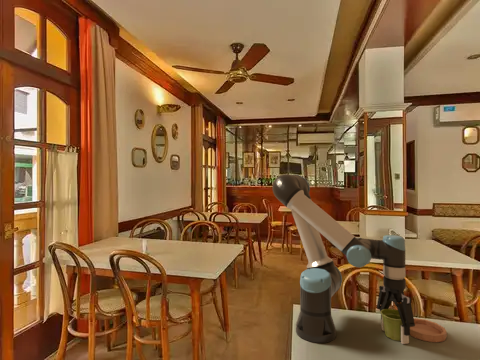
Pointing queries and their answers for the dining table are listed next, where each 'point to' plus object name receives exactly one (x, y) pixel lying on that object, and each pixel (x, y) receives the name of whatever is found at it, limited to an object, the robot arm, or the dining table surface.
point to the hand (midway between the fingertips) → (394, 336)
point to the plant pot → (392, 323)
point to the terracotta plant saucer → (428, 331)
